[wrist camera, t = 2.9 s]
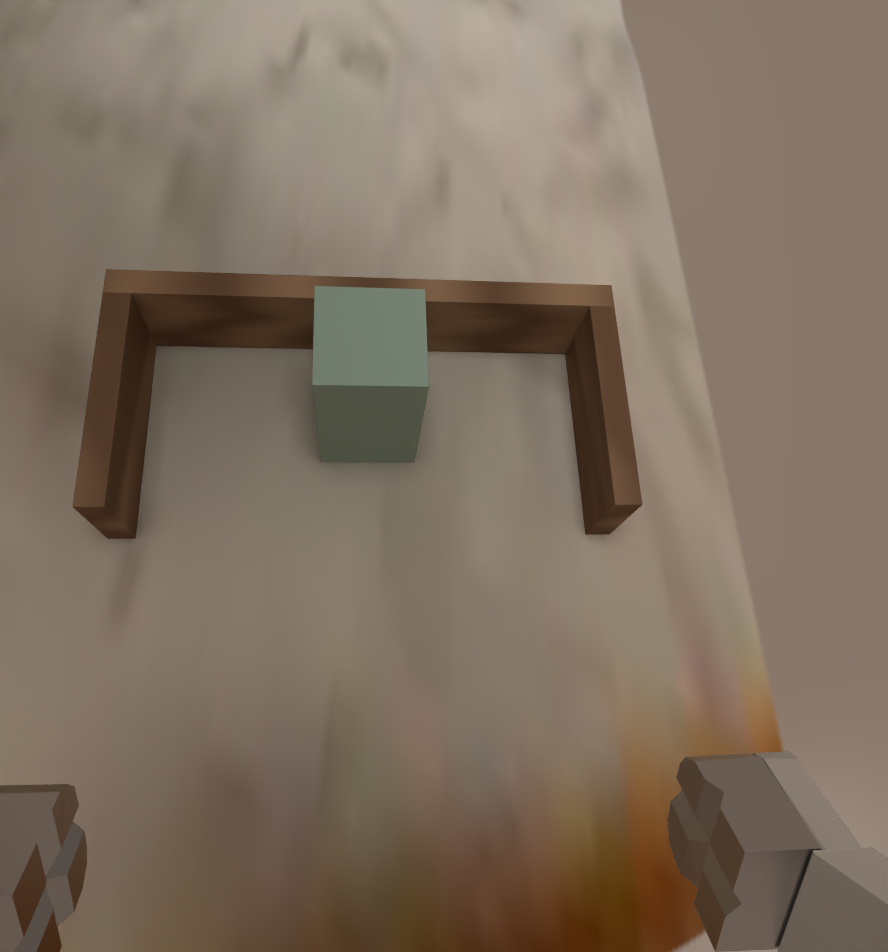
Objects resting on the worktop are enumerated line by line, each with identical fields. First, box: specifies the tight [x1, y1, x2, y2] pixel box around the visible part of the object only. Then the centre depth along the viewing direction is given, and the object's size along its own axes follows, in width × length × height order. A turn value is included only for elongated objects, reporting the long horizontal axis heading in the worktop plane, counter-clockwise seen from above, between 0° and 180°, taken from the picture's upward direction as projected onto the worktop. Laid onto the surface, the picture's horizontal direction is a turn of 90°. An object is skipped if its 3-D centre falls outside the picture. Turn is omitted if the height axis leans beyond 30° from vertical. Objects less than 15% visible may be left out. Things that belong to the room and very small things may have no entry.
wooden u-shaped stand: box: [73, 269, 642, 538], centre depth 35 cm, size 23×11×4 cm, turn 92°
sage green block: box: [312, 286, 429, 462], centre depth 34 cm, size 4×4×8 cm
